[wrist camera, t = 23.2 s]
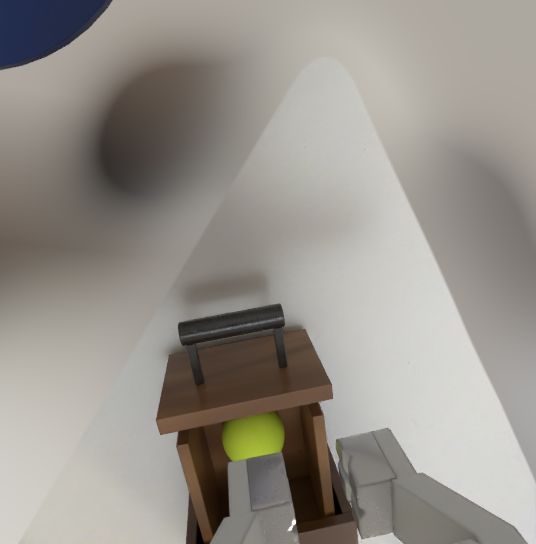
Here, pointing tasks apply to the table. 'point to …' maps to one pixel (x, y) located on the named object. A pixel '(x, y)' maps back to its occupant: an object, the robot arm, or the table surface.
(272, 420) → the tennis ball
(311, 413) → the drawer
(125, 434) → the table surface
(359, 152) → the table surface
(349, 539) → the cabinet
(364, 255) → the table surface
